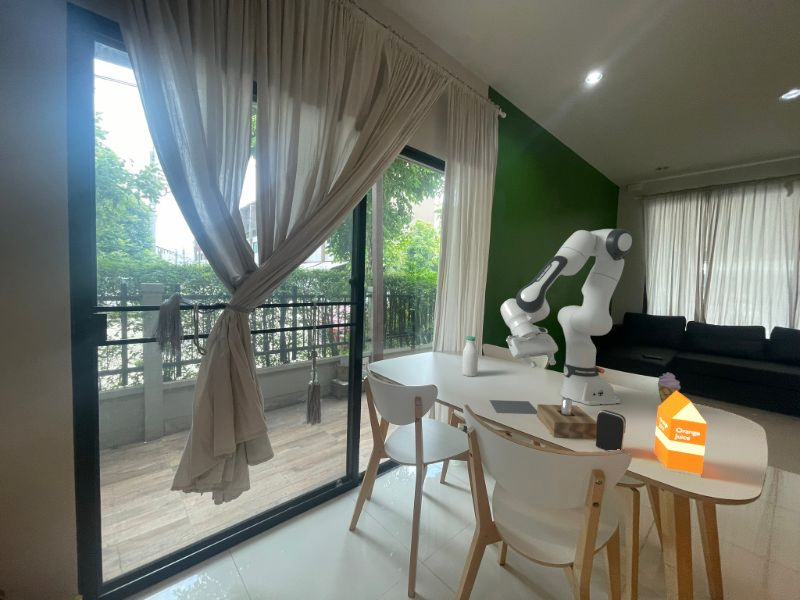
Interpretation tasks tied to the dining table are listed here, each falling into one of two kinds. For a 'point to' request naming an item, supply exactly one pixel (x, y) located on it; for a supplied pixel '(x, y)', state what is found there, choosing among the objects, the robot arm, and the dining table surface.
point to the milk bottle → (470, 358)
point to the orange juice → (680, 434)
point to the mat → (513, 407)
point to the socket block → (567, 422)
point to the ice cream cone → (667, 386)
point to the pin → (566, 407)
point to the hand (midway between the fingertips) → (544, 365)
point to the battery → (610, 430)
